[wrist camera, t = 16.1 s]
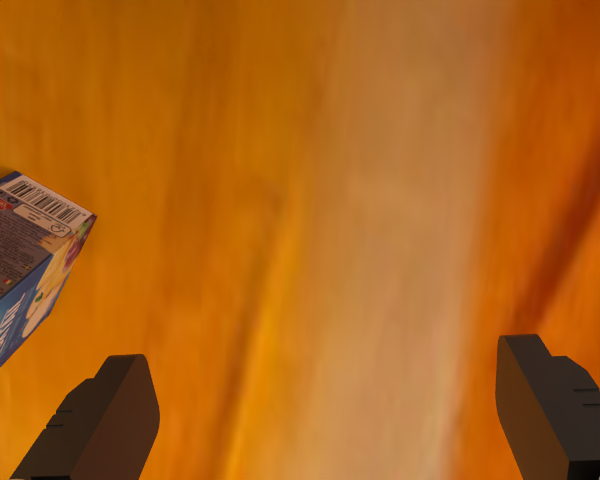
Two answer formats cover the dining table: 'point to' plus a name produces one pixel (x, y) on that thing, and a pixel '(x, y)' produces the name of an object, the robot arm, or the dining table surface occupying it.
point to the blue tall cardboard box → (34, 254)
